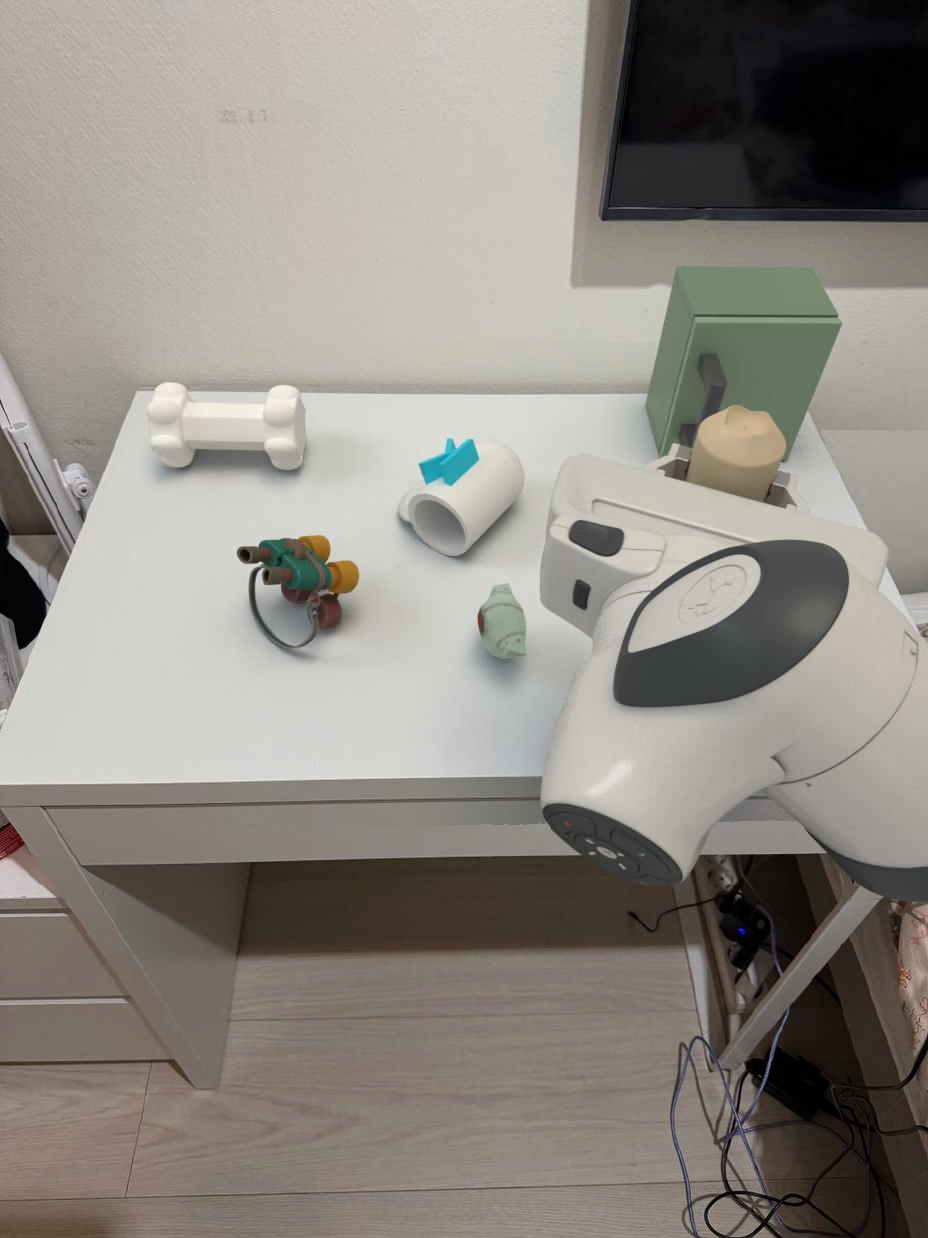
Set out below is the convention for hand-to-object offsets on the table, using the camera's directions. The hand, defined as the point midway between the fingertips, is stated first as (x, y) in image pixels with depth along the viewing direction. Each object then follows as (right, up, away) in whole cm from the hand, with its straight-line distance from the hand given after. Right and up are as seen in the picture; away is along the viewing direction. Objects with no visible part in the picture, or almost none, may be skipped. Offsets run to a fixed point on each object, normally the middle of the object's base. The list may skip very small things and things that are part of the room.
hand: (731, 466), depth 56 cm
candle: (0, -4, +4) cm, 6 cm away
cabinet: (+10, +11, +40) cm, 43 cm away
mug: (-19, +1, +31) cm, 36 cm away
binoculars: (-32, -10, +21) cm, 40 cm away
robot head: (-15, -13, +19) cm, 28 cm away
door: (+11, +5, +35) cm, 37 cm away
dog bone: (-42, +7, +35) cm, 56 cm away
